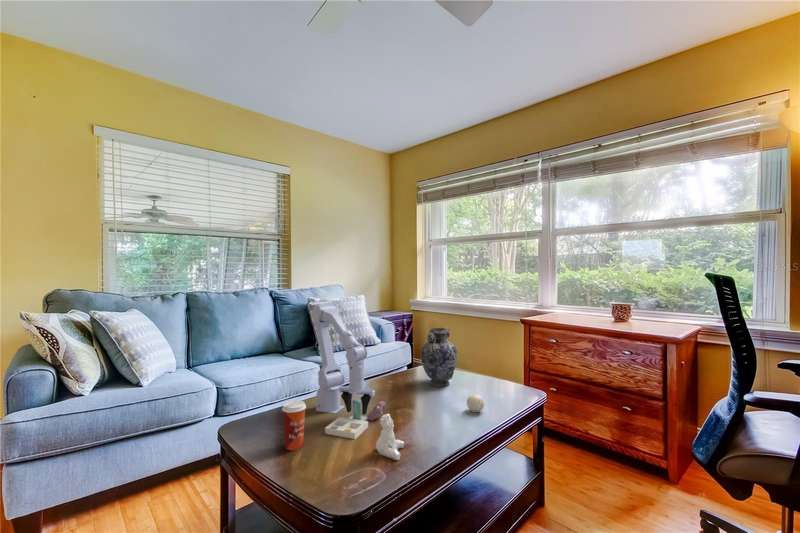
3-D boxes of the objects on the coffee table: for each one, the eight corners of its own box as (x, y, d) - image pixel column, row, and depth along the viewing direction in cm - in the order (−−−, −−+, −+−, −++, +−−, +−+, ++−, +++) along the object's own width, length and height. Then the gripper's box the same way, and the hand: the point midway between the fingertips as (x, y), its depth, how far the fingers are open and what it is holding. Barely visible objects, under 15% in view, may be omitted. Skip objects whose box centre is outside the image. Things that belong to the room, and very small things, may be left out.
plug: (351, 420, 135) (351, 402, 135) (355, 417, 138) (355, 399, 138) (358, 421, 134) (358, 403, 134) (362, 418, 137) (362, 400, 137)
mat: (344, 422, 134) (344, 421, 134) (353, 415, 140) (353, 414, 140) (360, 425, 131) (360, 424, 131) (368, 418, 138) (368, 417, 138)
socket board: (325, 434, 124) (325, 426, 124) (339, 423, 133) (339, 416, 133) (355, 440, 120) (355, 432, 120) (368, 427, 129) (367, 420, 129)
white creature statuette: (399, 461, 106) (399, 421, 106) (372, 459, 108) (371, 420, 108) (404, 446, 115) (404, 409, 116) (379, 444, 117) (379, 408, 117)
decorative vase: (447, 392, 165) (445, 333, 166) (413, 386, 175) (412, 330, 176) (464, 381, 183) (463, 327, 184) (433, 376, 193) (432, 325, 194)
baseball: (471, 416, 139) (471, 399, 139) (464, 409, 146) (464, 392, 146) (487, 414, 140) (487, 397, 141) (479, 407, 148) (479, 391, 148)
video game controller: (375, 426, 134) (383, 410, 134) (365, 420, 135) (373, 404, 134) (382, 415, 144) (389, 401, 143) (372, 410, 145) (380, 395, 144)
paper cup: (293, 454, 111) (293, 410, 111) (277, 448, 115) (276, 405, 115) (311, 444, 117) (311, 402, 117) (295, 438, 121) (295, 397, 122)
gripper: (334, 378, 135) (335, 413, 135) (368, 382, 130) (369, 419, 129) (344, 373, 141) (344, 407, 141) (376, 376, 136) (377, 412, 136)
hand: (356, 412), depth 136 cm, fingers open, 6 cm apart
